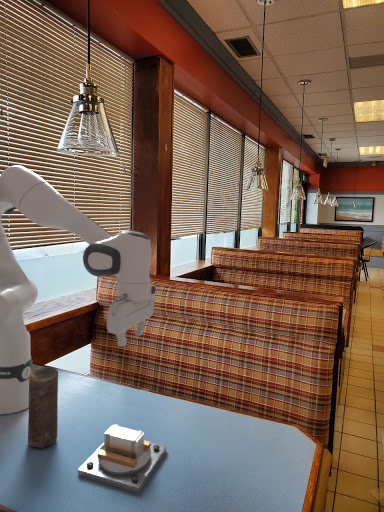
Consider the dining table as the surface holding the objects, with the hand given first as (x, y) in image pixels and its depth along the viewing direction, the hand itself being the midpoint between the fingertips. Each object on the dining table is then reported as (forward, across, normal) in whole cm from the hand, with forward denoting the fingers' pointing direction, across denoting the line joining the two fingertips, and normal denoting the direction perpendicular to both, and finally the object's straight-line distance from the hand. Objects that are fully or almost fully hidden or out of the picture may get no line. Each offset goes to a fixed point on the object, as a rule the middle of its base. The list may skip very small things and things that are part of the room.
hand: (130, 339), depth 105 cm
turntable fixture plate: (+27, -12, -6) cm, 30 cm away
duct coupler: (+24, -12, -6) cm, 28 cm away
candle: (+28, -13, +18) cm, 36 cm away
